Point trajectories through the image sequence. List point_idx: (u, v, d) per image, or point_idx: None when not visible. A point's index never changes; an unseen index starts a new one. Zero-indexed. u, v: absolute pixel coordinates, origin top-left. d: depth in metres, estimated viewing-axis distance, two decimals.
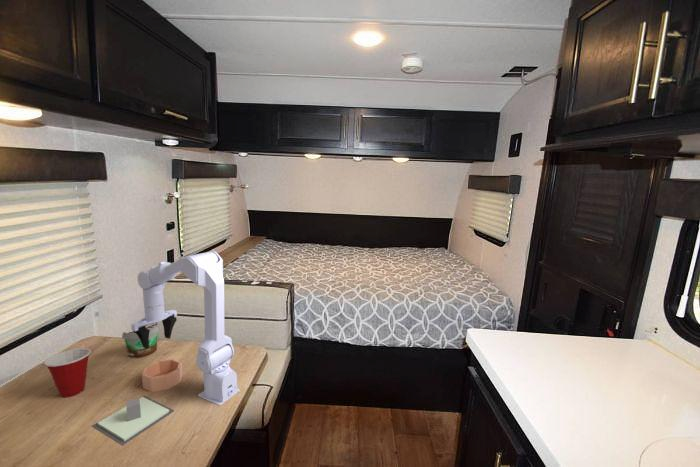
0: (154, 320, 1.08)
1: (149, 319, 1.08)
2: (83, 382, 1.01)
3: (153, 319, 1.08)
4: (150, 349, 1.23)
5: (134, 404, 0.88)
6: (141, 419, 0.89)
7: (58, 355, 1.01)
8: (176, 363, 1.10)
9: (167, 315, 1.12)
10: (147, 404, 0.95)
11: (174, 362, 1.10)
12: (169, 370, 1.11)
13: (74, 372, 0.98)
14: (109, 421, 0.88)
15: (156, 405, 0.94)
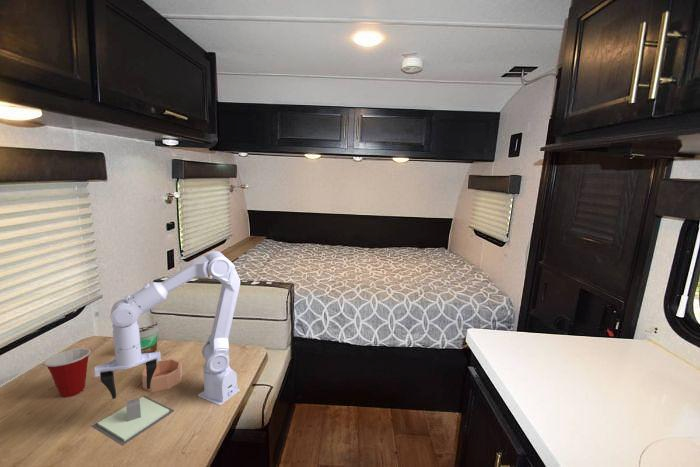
0: (120, 366, 0.84)
1: (116, 363, 0.85)
2: (83, 382, 1.01)
3: (119, 365, 0.84)
4: (150, 349, 1.23)
5: (134, 404, 0.88)
6: (141, 419, 0.89)
7: (58, 355, 1.01)
8: (176, 363, 1.10)
9: (142, 361, 0.87)
10: (147, 404, 0.95)
11: (174, 362, 1.10)
12: (169, 370, 1.11)
13: (74, 372, 0.98)
14: (109, 421, 0.88)
15: (156, 405, 0.94)
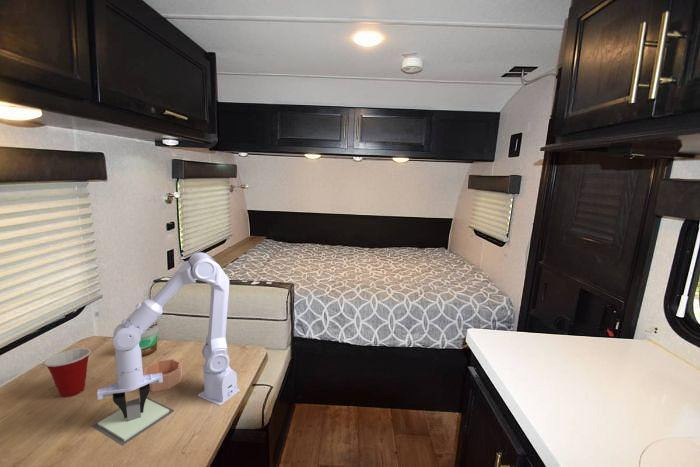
0: (122, 389, 0.85)
1: (119, 386, 0.86)
2: (83, 382, 1.01)
3: (122, 387, 0.85)
4: (150, 349, 1.23)
5: (134, 404, 0.88)
6: (141, 419, 0.89)
7: (58, 355, 1.01)
8: (176, 363, 1.10)
9: (144, 383, 0.88)
10: (147, 404, 0.95)
11: (174, 362, 1.10)
12: (169, 370, 1.11)
13: (74, 372, 0.98)
14: (109, 421, 0.88)
15: (156, 405, 0.94)
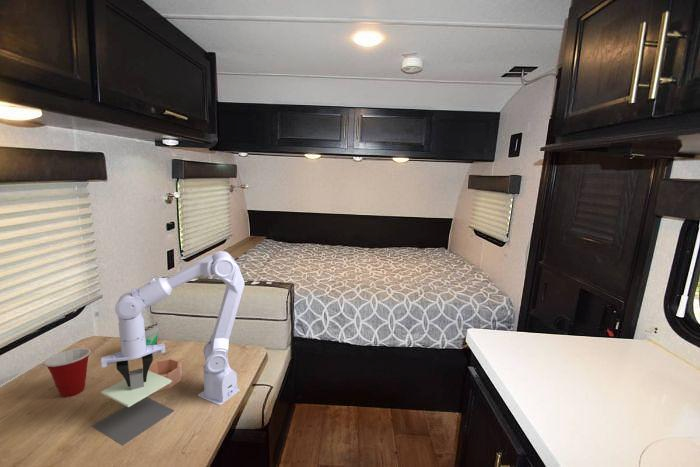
0: (126, 357, 0.87)
1: (122, 355, 0.87)
2: (83, 382, 1.01)
3: (125, 356, 0.87)
4: None
5: (137, 373, 0.90)
6: (144, 388, 0.90)
7: (58, 355, 1.01)
8: (175, 362, 1.10)
9: (147, 352, 0.89)
10: (150, 375, 0.96)
11: (173, 361, 1.10)
12: (168, 370, 1.11)
13: (74, 372, 0.98)
14: (112, 390, 0.89)
15: (159, 376, 0.96)
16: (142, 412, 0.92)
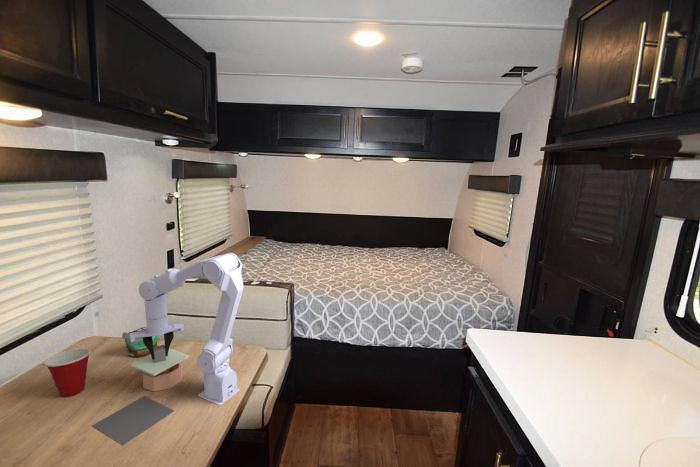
0: (151, 333, 1.00)
1: (148, 331, 1.00)
2: (83, 382, 1.01)
3: (151, 332, 1.00)
4: None
5: (160, 349, 1.03)
6: (166, 361, 1.03)
7: (58, 355, 1.01)
8: None
9: (169, 330, 1.03)
10: (170, 352, 1.09)
11: None
12: (167, 370, 1.11)
13: (74, 372, 0.98)
14: (139, 363, 1.02)
15: (178, 352, 1.09)
16: (142, 412, 0.92)
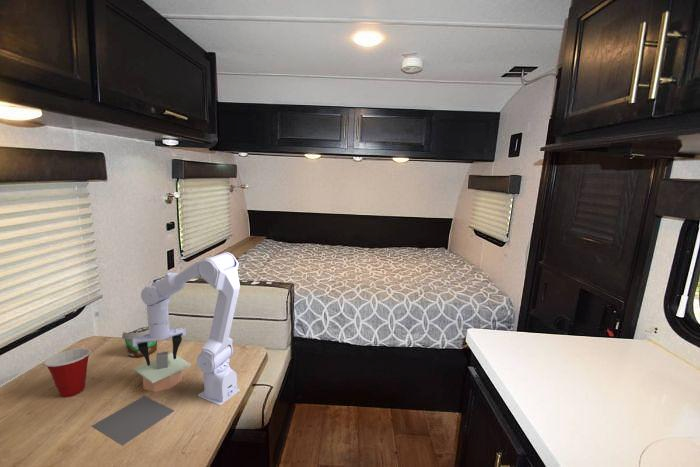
0: (153, 338, 1.01)
1: (150, 336, 1.02)
2: (83, 382, 1.01)
3: (153, 337, 1.01)
4: (150, 349, 1.23)
5: (162, 355, 1.05)
6: (168, 368, 1.04)
7: (58, 355, 1.01)
8: None
9: (170, 334, 1.04)
10: None
11: None
12: None
13: (74, 372, 0.98)
14: (143, 368, 1.05)
15: (181, 359, 1.10)
16: (142, 412, 0.92)
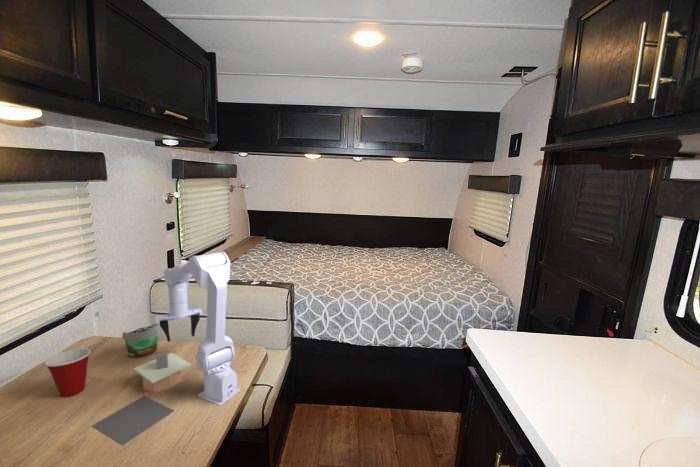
0: (174, 316, 1.11)
1: (171, 314, 1.12)
2: (83, 382, 1.01)
3: (173, 315, 1.11)
4: (150, 349, 1.23)
5: (162, 356, 1.05)
6: (167, 369, 1.04)
7: (58, 355, 1.01)
8: None
9: (189, 313, 1.14)
10: (174, 358, 1.11)
11: None
12: None
13: (74, 372, 0.98)
14: (143, 368, 1.05)
15: (181, 359, 1.10)
16: (142, 412, 0.92)
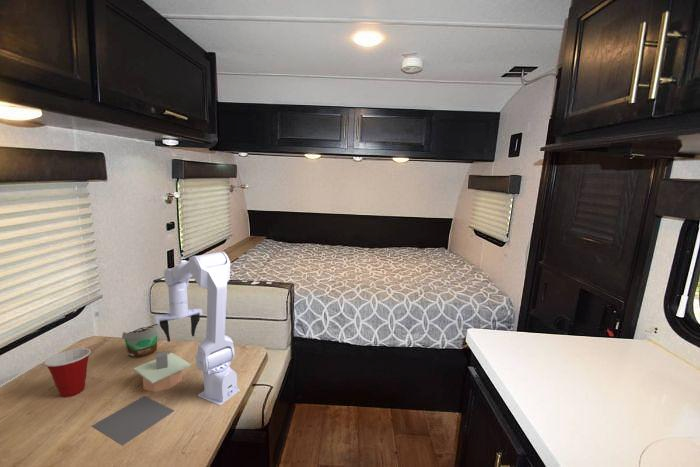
0: (174, 316, 1.11)
1: (171, 314, 1.12)
2: (83, 382, 1.01)
3: (173, 315, 1.11)
4: (150, 349, 1.23)
5: (162, 356, 1.05)
6: (167, 369, 1.04)
7: (58, 355, 1.01)
8: None
9: (189, 313, 1.14)
10: (174, 358, 1.11)
11: None
12: None
13: (74, 372, 0.98)
14: (142, 368, 1.05)
15: (181, 359, 1.10)
16: (142, 412, 0.92)
